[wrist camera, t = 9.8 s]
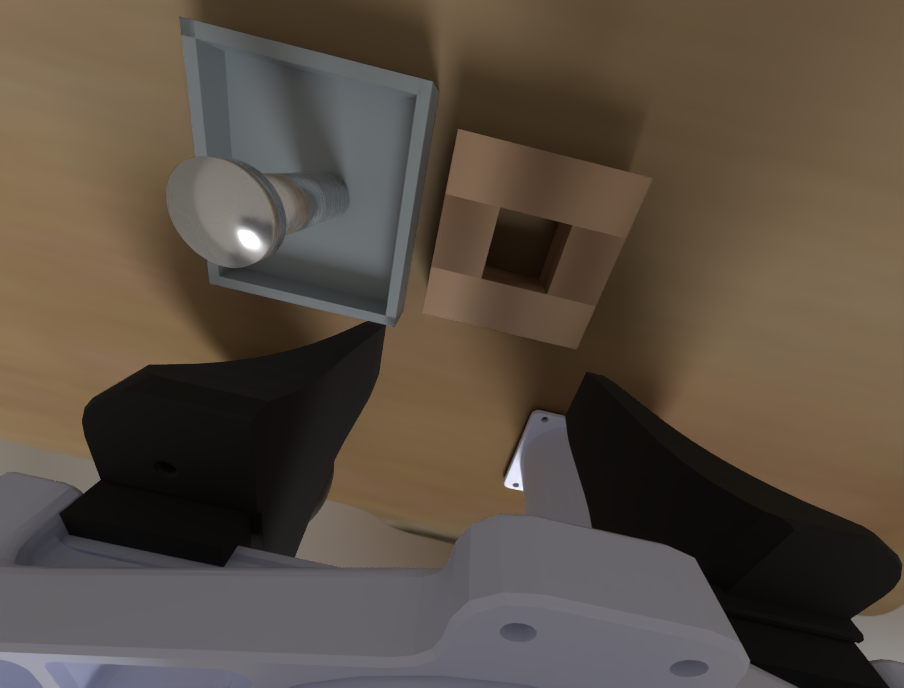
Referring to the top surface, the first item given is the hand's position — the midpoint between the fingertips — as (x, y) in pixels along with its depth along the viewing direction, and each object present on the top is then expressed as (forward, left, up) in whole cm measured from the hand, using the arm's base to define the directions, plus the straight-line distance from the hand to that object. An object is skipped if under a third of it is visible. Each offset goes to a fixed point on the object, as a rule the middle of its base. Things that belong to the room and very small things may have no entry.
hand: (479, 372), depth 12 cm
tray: (+10, -3, -10) cm, 15 cm away
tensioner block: (-1, -3, -10) cm, 11 cm away
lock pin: (+10, -3, -10) cm, 14 cm away
